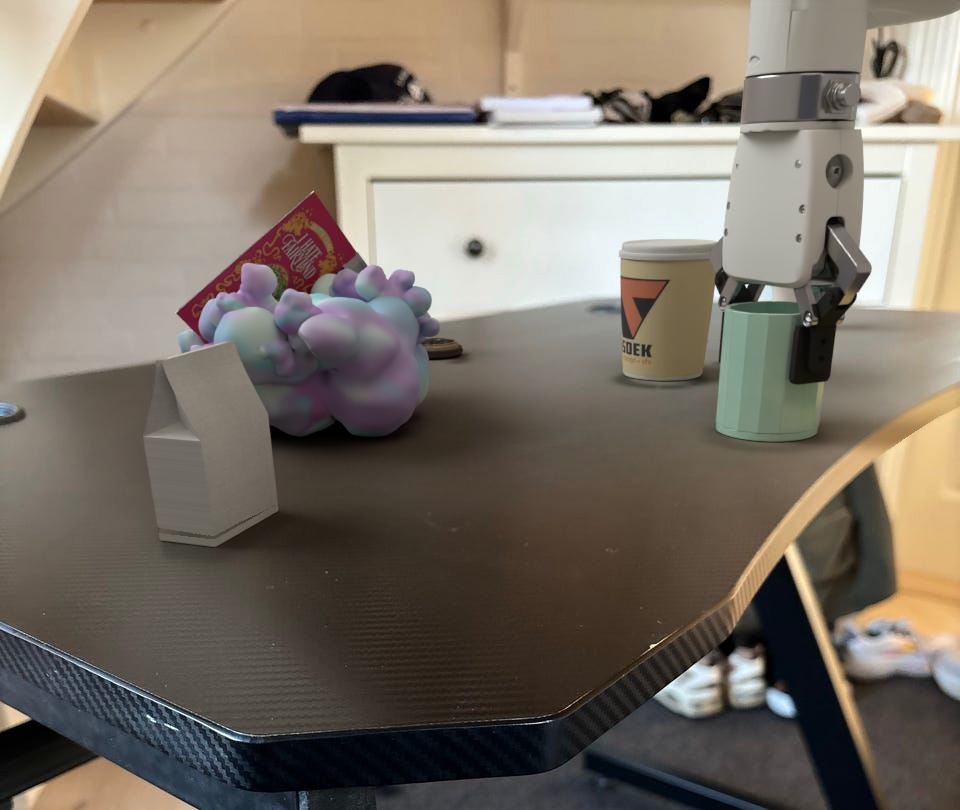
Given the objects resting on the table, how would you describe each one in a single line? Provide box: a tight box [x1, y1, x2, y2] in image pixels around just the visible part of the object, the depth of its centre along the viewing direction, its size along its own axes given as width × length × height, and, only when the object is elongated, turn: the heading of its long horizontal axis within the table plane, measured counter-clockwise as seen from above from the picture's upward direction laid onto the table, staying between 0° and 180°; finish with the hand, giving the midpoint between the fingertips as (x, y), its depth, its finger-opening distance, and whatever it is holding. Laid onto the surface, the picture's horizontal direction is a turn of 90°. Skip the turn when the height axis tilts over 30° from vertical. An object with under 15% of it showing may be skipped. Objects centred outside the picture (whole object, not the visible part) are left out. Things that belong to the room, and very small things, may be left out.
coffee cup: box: [618, 238, 718, 382], centre depth 96 cm, size 9×9×12 cm
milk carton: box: [142, 341, 279, 548], centre depth 57 cm, size 4×7×10 cm, turn 160°
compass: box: [420, 337, 464, 359], centre depth 110 cm, size 8×8×7 cm
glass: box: [714, 300, 825, 443], centre depth 75 cm, size 8×8×9 cm
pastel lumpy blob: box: [175, 190, 441, 438], centre depth 79 cm, size 20×22×18 cm
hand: (771, 371), depth 75 cm, fingers closed on glass, 7 cm apart
